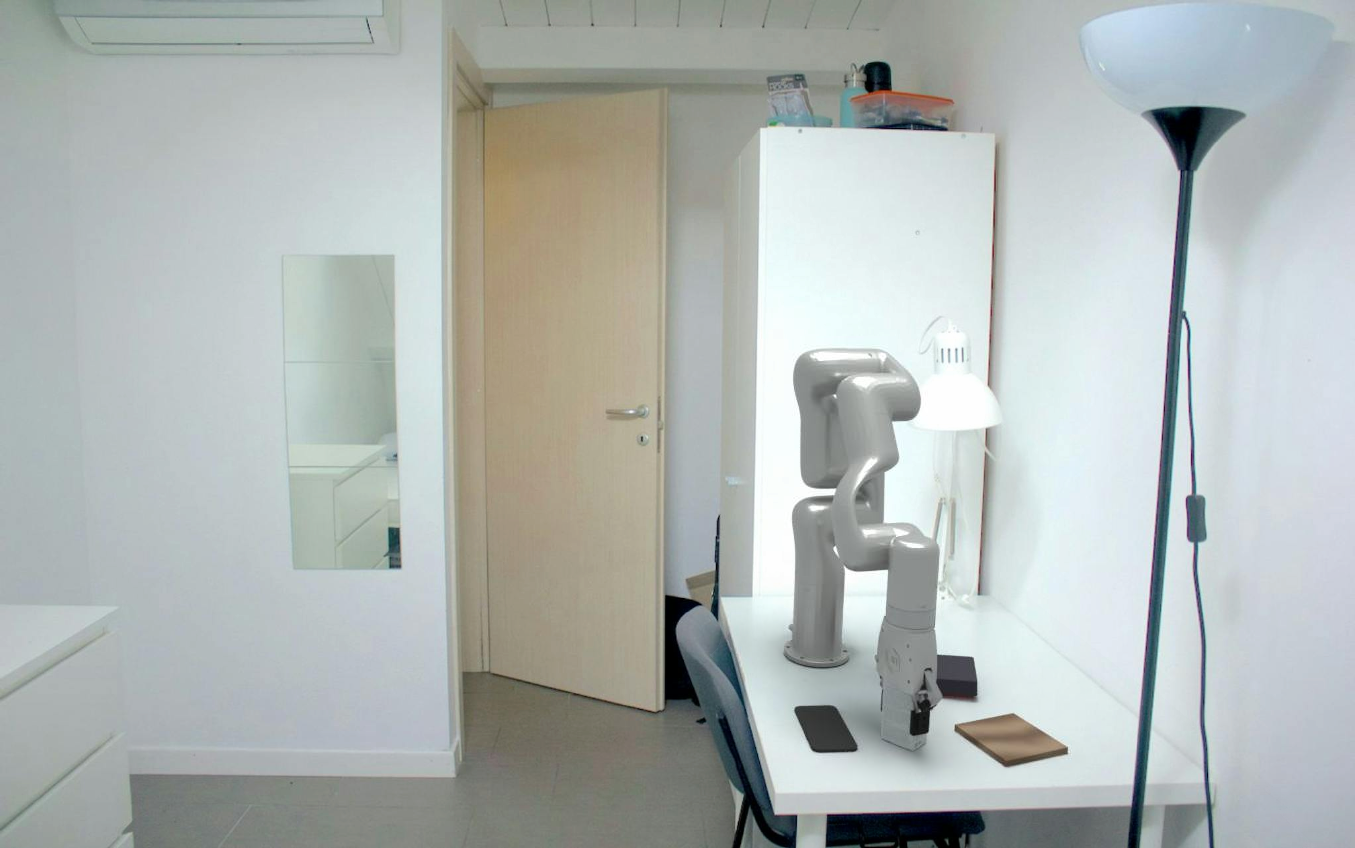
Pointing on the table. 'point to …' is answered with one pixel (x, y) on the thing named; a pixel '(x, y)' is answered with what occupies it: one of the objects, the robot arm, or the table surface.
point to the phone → (825, 729)
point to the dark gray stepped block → (956, 676)
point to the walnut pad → (1010, 739)
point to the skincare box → (898, 717)
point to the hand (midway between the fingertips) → (904, 721)
